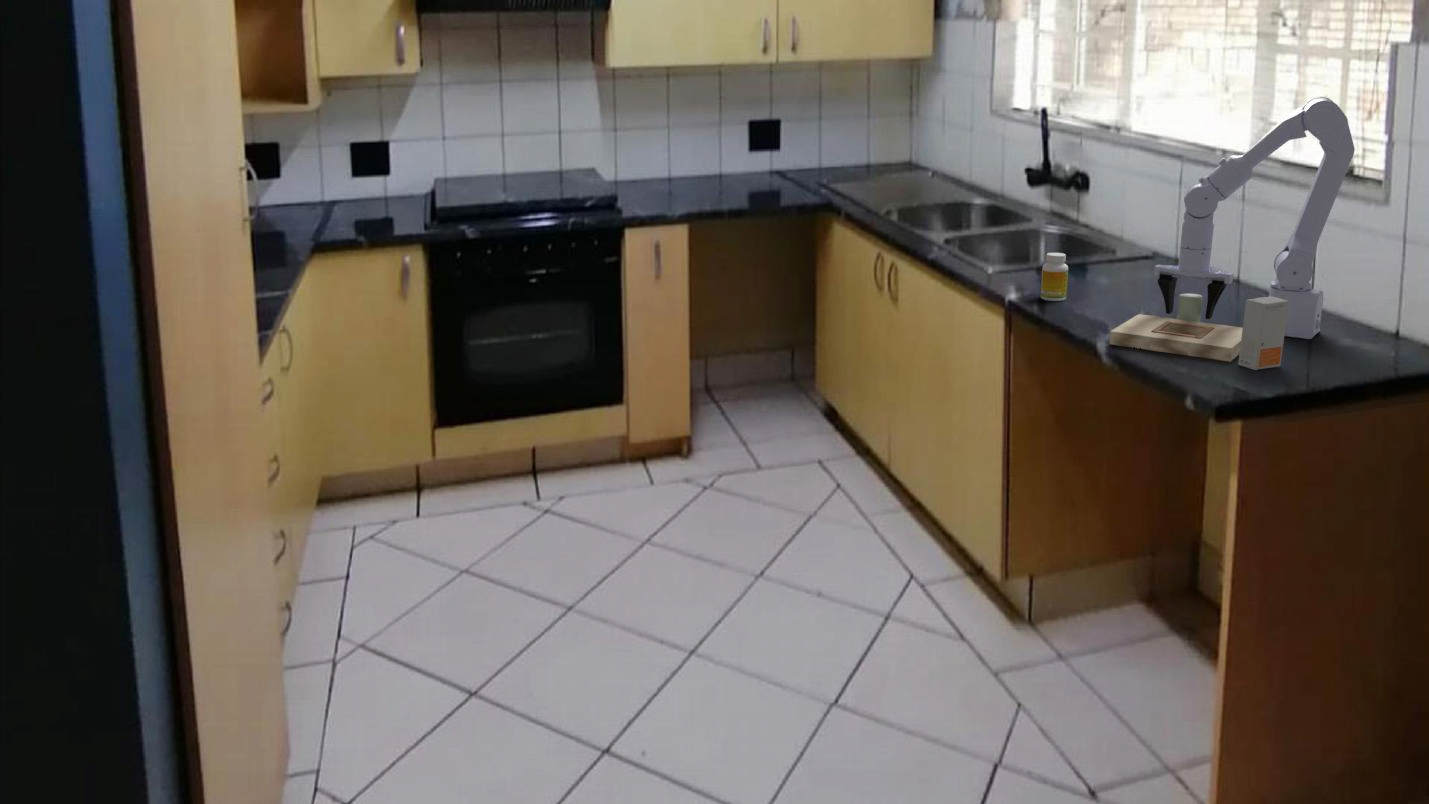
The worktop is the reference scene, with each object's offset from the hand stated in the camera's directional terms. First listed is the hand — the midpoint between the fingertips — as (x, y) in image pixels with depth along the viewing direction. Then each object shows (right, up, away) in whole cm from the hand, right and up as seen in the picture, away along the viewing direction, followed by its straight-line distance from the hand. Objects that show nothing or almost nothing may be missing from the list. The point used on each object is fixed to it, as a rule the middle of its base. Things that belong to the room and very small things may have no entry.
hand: (1188, 315), depth 256 cm
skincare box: (+3, -11, -27) cm, 29 cm away
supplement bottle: (-20, +5, +24) cm, 32 cm away
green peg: (0, -2, +1) cm, 2 cm away
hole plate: (-6, -6, -12) cm, 14 cm away
